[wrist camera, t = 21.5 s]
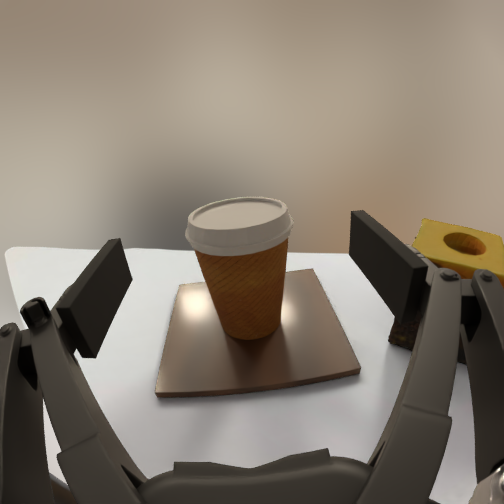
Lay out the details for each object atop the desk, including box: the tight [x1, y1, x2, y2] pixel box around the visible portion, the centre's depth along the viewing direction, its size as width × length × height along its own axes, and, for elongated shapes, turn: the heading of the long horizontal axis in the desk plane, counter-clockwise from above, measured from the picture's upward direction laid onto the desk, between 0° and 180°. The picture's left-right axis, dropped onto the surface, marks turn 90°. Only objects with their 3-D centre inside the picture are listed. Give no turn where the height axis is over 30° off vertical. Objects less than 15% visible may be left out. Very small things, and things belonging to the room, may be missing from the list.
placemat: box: [155, 269, 361, 397], centre depth 30 cm, size 18×18×1 cm
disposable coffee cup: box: [185, 197, 293, 340], centre depth 27 cm, size 10×10×12 cm
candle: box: [388, 218, 504, 364], centre depth 23 cm, size 10×10×10 cm
